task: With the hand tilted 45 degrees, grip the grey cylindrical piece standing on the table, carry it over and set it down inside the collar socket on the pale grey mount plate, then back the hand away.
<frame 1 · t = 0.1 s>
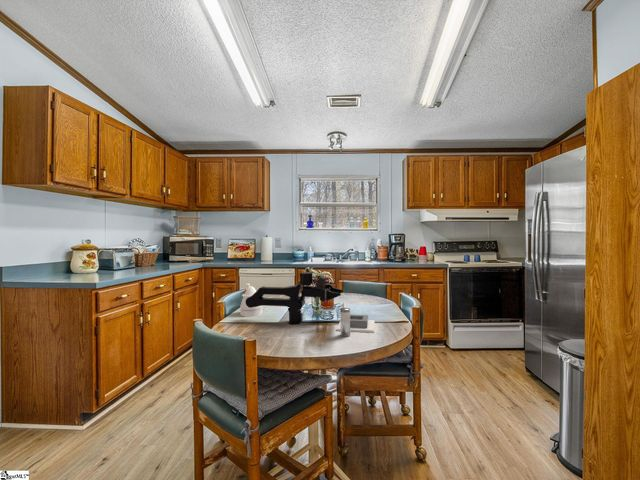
hand: (341, 292, 170), 17 cm above the table, tool horizontal, fingers open, 9 cm apart
mount: (356, 326, 166), on the table
grey cylindrical piece: (345, 335, 152), on the table
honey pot: (251, 314, 195), on the table
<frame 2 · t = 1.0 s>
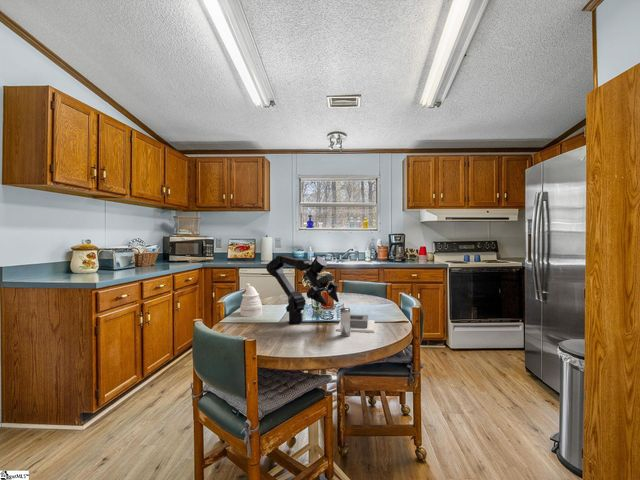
hand: (332, 303, 158), 14 cm above the table, tool tilted 45°, fingers open, 9 cm apart
nothing on the table moved.
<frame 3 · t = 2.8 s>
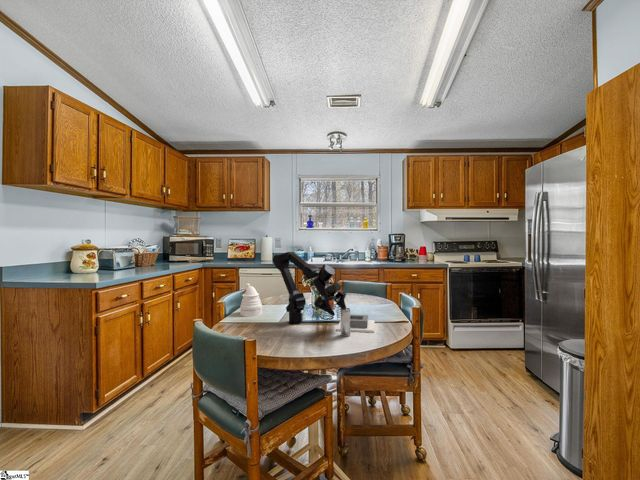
hand: (340, 313, 154), 10 cm above the table, tool tilted 45°, fingers open, 9 cm apart
nothing on the table moved.
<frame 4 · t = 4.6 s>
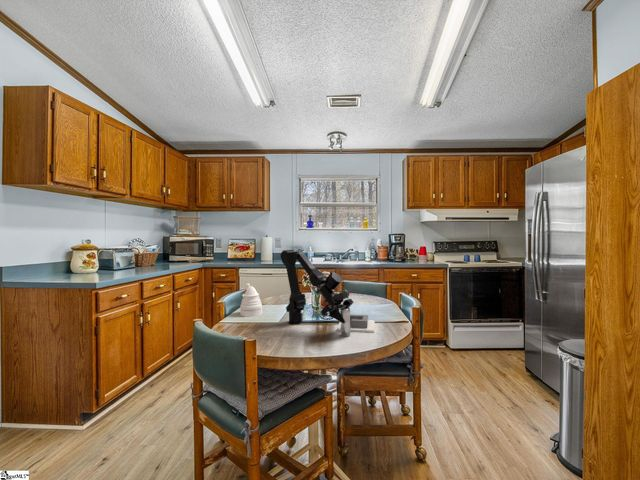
hand: (347, 321, 151), 7 cm above the table, tool tilted 45°, fingers closed on grey cylindrical piece, 4 cm apart
grey cylindrical piece: (345, 335, 152), on the table, touching gripper
everything else where it was.
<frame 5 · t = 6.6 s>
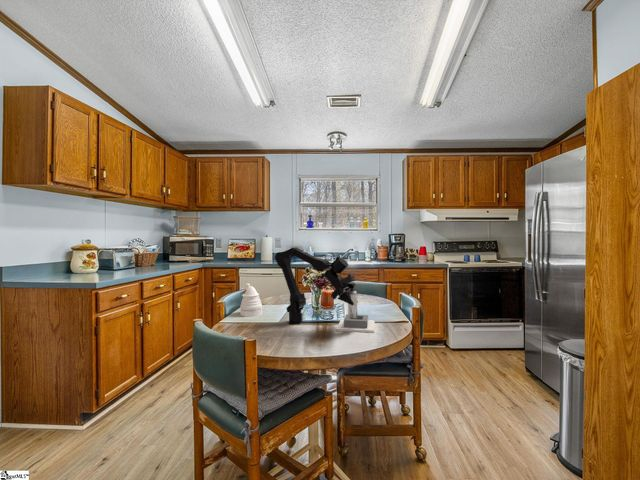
hand: (355, 303, 158), 13 cm above the table, tool tilted 45°, fingers closed on grey cylindrical piece, 4 cm apart
grey cylindrical piece: (352, 316, 159), point 7 cm above the table, touching gripper
everything else where it was.
when the fingers open (9 cm above the table, at t = 8.7 s): grey cylindrical piece drops 1 cm, resting on mount.
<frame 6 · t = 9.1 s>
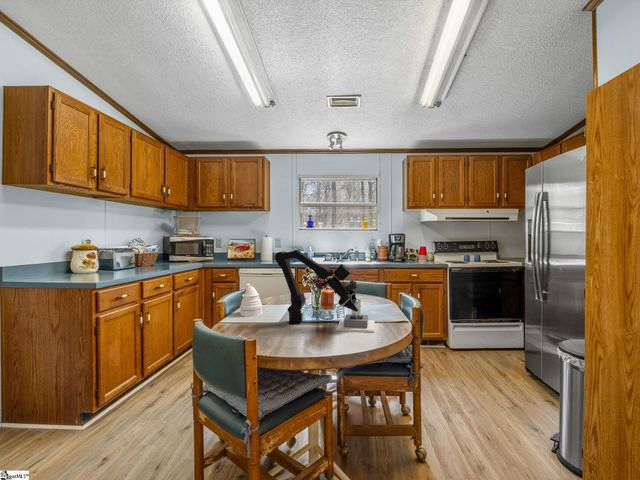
hand: (358, 308, 166), 9 cm above the table, tool tilted 45°, fingers open, 9 cm apart
grey cylindrical piece: (356, 324, 166), point 1 cm above the table, touching mount
everything else where it was.
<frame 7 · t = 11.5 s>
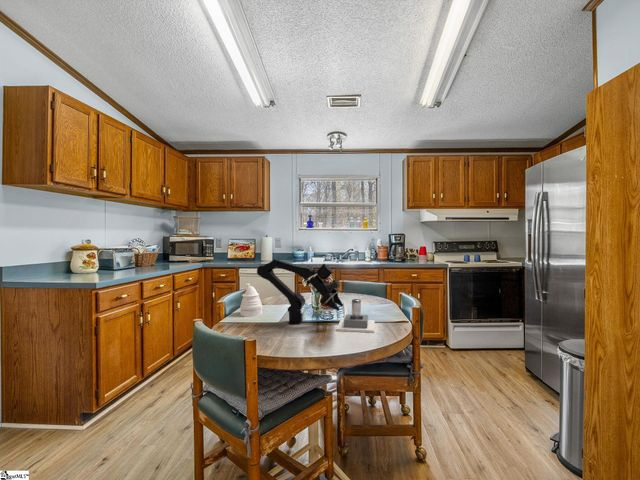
hand: (340, 307, 168), 9 cm above the table, tool tilted 45°, fingers open, 9 cm apart
nothing on the table moved.
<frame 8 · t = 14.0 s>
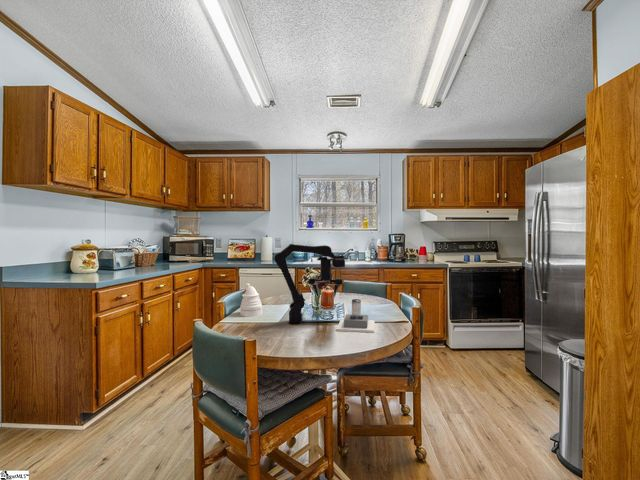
hand: (326, 296, 178), 13 cm above the table, tool pointing down, fingers open, 9 cm apart
nothing on the table moved.
at the end: grey cylindrical piece 0.1 cm off-centre on the mount, point 1.0 cm above the mount's base; grey cylindrical piece tilted 1°; the gripper is holding nothing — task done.
